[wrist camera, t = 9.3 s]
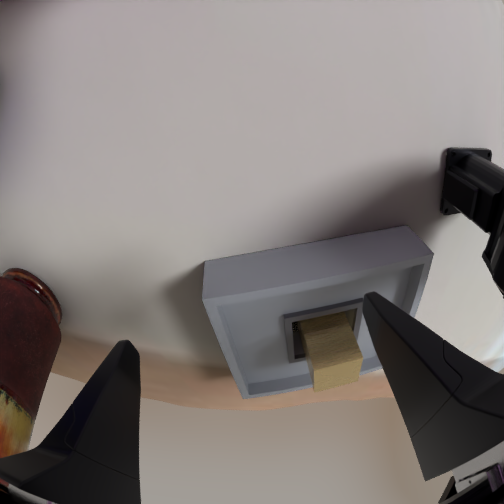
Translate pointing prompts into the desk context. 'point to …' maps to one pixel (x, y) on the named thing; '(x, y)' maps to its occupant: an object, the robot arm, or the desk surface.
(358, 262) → the grey socket tray
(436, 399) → the robot arm
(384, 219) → the desk surface
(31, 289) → the vase
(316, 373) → the connector plug
